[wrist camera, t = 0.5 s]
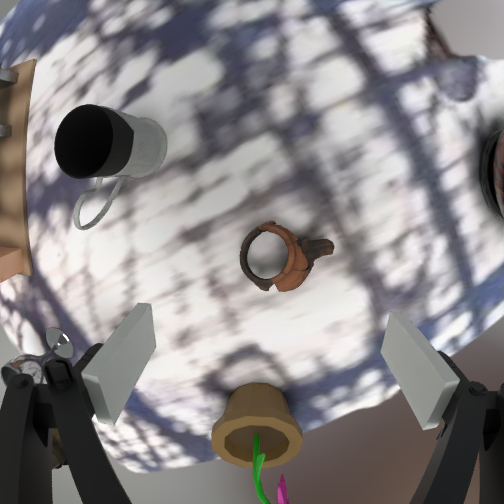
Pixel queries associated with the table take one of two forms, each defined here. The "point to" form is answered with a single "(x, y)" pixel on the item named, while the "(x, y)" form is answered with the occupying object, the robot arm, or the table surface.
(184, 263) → the table surface
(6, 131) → the grey bridge block
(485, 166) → the amphora vase
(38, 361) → the wine glass
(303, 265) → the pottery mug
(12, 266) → the socket block
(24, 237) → the base board
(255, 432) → the flowerpot
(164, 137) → the glass holder
